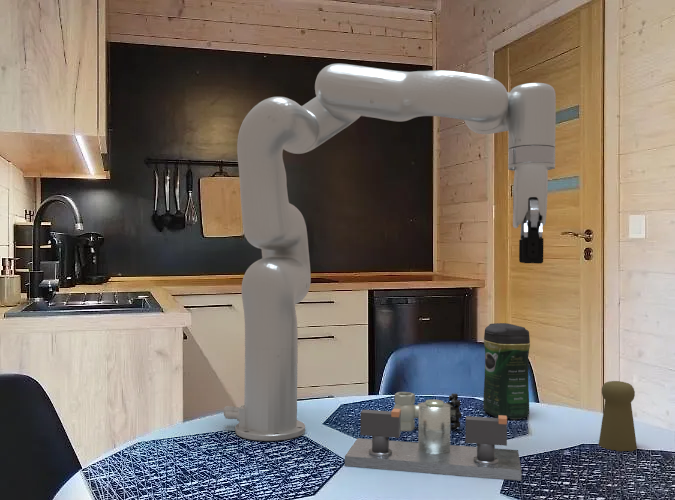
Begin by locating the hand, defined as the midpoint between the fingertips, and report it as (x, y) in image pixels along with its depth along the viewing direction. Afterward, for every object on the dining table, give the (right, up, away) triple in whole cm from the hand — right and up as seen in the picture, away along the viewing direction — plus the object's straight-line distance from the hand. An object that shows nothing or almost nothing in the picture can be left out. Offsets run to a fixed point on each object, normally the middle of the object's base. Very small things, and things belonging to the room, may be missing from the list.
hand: (530, 263), depth 109 cm
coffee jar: (+2, -32, +25) cm, 40 cm away
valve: (-16, -32, +14) cm, 38 cm away
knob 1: (-25, -29, -7) cm, 39 cm away
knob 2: (-10, -29, -10) cm, 33 cm away
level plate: (-17, -31, -7) cm, 36 cm away
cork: (+16, -32, +3) cm, 35 cm away
